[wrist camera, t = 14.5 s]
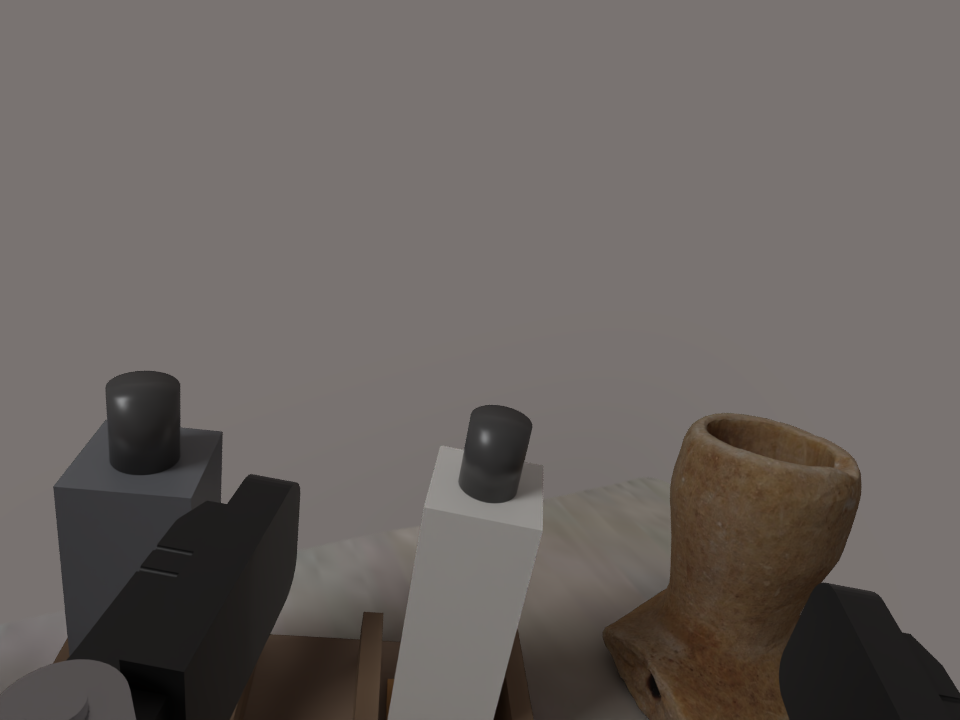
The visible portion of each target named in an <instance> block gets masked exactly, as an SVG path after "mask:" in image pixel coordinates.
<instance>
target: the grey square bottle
mask: <svg viewBox="0 0 960 720" xmlns="http://www.w3.org/2000/svg"><path fill="white" fill-rule="evenodd" d="M106 404H107V405H106V406H107V420H105V421H104V423H103V424H102V425H101V427H100V428H99V429H98V430H97V432H96V433H95V434H94V435H93V437H92V438H91V439H90V441H89V442H88V443H87V445H86V446H85V447H84V448H83V450H82V451H81V452H80V453H79V455H78V456H77V457H76V458H75V460H74V461H73V462H72V464H71V465H70V466H69V467H68V469H67V470H66V471H65V473H64V474H63V475H62V476H61V478H60V479H59V480H58V481H57V483H56V484H55V485H54V487H53V488H54V498H55V509H56V518H57V530H58V540H59V551H60V561H61V572H62V583H63V593H64V603H65V614H66V625H67V635H68V646H69V656H70V655H71V654H72V653H73V652H74V651H75V649H76V648H77V647H78V646H79V644H80V643H81V642H82V640H83V639H84V638H85V637H86V635H87V634H88V633H89V631H90V630H91V629H92V628H93V626H94V625H95V624H96V622H97V621H98V620H99V619H100V617H101V616H102V615H103V613H104V612H105V611H106V610H107V608H108V607H109V606H110V604H111V603H112V602H113V601H114V599H115V598H116V597H117V595H118V594H119V593H120V592H121V590H122V589H123V588H124V586H125V585H126V584H127V583H128V581H129V580H130V579H131V577H132V576H133V575H134V574H135V572H136V571H138V572H139V570H140V567H141V565H142V563H143V562H144V561H145V560H146V558H147V557H148V556H149V554H150V553H151V552H152V551H153V550H156V548H157V544H158V543H159V542H160V540H161V539H162V538H163V536H164V535H165V534H166V533H167V531H168V530H169V529H170V527H171V526H172V525H173V524H174V522H175V521H176V520H177V519H178V518H180V517H181V516H183V515H185V514H186V513H188V512H189V511H191V510H193V509H194V508H196V507H197V506H199V505H201V504H202V503H204V502H205V501H212V502H217V503H221V475H222V435H223V434H222V433H223V432H220V431H210V430H200V429H190V428H180V383H179V381H178V380H177V379H176V378H175V377H173V376H171V375H168V374H166V373H161V372H156V371H135V372H129V373H125V374H122V375H119V376H116V377H114V378H113V379H111V380H110V381H109V382H108V383H107V385H106Z"/></svg>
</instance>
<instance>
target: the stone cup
mask: <svg viewBox="0 0 960 720" xmlns="http://www.w3.org/2000/svg"><path fill="white" fill-rule="evenodd" d="M860 496H861V473H860V470H859V468H858V465H857V463H856V461H855V459H854V458H853V457H852V456H851V455H850V454H849V453H848V452H846V451H845V450H844V449H842V448H841V447H839V446H837V445H836V444H834V443H832V442H830V441H828V440H826V439H824V438H822V437H818V436H815V435H813V434H811V433H808V432H806V431H804V430H802V429H799V428H797V427H794V426H791V425H788V424H785V423H781V422H776V421H773V420H770V419H767V418H761V417H755V416H749V415H744V414H733V413H721V414H713V415H709V416H705V417H703V418H701V419H699V420H698V421H696V422H695V423H693V424H692V426H691V427H690V428H689V429H688V431H687V433H686V436H685V437H684V439H683V443H682V447H681V450H680V453H679V455H678V458H677V461H676V464H675V467H674V471H673V475H672V479H671V487H670V506H671V534H672V539H671V570H670V582H669V585H668V587H667V589H665V590H663V591H661V592H660V593H658V594H657V595H655V596H654V597H653V598H651V599H650V600H648V601H647V602H645V603H643V604H642V605H640V606H639V607H637V608H636V609H635V610H633V611H632V612H630V613H629V614H627V615H625V616H624V617H622V618H621V619H619V620H618V621H616V622H615V623H613V624H611V625H609V626H607V627H605V629H604V631H603V640H604V642H605V645H606V647H607V648H608V650H609V651H610V653H611V655H612V657H613V659H614V662H615V664H616V667H617V670H618V672H619V675H620V677H622V678H623V679H624V682H625V684H626V686H627V688H628V690H629V692H630V693H631V695H632V696H633V698H634V699H635V701H636V704H637V705H638V707H639V709H640V710H641V711H642V712H643V713H644V714H645V715H646V716H647V717H648V718H649V719H650V720H789V717H788V714H787V711H786V708H785V705H784V703H783V700H782V696H781V692H780V686H779V667H780V661H781V657H782V654H783V651H784V649H785V647H786V645H787V643H788V641H789V639H790V636H791V634H792V632H793V630H794V628H795V626H796V624H797V622H798V620H799V618H800V615H799V614H800V613H801V611H802V609H803V608H804V606H805V604H806V603H807V601H808V599H809V596H810V594H811V592H812V591H813V589H814V588H815V587H816V586H817V585H818V584H820V583H821V582H822V581H823V580H824V579H825V577H826V576H827V575H828V574H829V573H830V571H831V570H832V569H833V568H834V566H835V565H836V564H837V562H838V561H839V559H840V557H841V555H842V553H843V550H844V548H845V545H846V542H847V539H848V536H849V534H850V531H851V528H852V525H853V522H854V518H855V515H856V512H857V509H858V505H859V501H860Z"/></svg>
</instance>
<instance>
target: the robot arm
mask: <svg viewBox="0 0 960 720" xmlns="http://www.w3.org/2000/svg"><path fill="white" fill-rule="evenodd" d="M299 505H300V486H299V484H298V483H296V482H291V481H285V480H280V479H275V478H269V477H264V476H259V475H253V474H250V475H248V476H247V477H246V478H245V479H244V481H243V482H242V484H241V485H240V487H239V488H238V489H237V491H236V492H235V494H234V495H233V497H232V498H231V499H230V501H229V502H228V504H223V503H217V502H212V501H205V502H204V503H202V504H201V505H199V506H197V507H196V508H194V509H193V510H191V511H189V512H188V513H186V514H185V515H183V516H181V517H180V518H178V519H177V520H176V521H175V522H174V524H173V525H172V526H171V527H170V529H169V530H168V531H167V533H166V534H165V535H164V536H163V538H162V539H161V540H160V542H159V543H158V544H157V548H156V550H153V551H152V552H151V553H150V554H149V556H148V557H147V558H146V560H145V561H144V562H143V563H142V565H141V567H140V570H139V572H138V571H136V572H135V574H134V575H133V576H132V577H131V579H130V580H129V581H128V583H127V584H126V585H125V586H124V588H123V589H122V590H121V592H120V593H119V594H118V595H117V597H116V598H115V599H114V601H113V602H112V603H111V604H110V606H109V607H108V608H107V610H106V611H105V612H104V613H103V615H102V616H101V617H100V619H99V620H98V621H97V622H96V624H95V625H94V626H93V628H92V629H91V630H90V631H89V633H88V634H87V635H86V637H85V638H84V639H83V640H82V642H81V643H80V644H79V646H78V647H77V648H76V649H75V651H74V652H73V653H72V654H71V655H70V657H69V658H68V659H67V660H66V661H62V662H58V663H54V664H51V665H48V666H45V667H42V668H40V669H37V670H35V671H33V672H31V673H29V674H27V675H26V676H24V677H22V678H21V679H19V680H17V681H16V682H15V683H13V684H12V685H11V686H9V687H8V688H7V689H6V690H5V691H4V692H2V693H1V694H0V720H230V718H231V716H232V714H233V712H234V710H235V707H236V705H237V703H238V701H239V699H240V697H241V695H242V693H243V690H244V688H245V686H246V684H247V682H248V680H249V678H250V676H251V674H252V671H253V669H254V667H255V665H256V663H257V661H258V659H259V657H260V654H261V652H262V650H263V648H264V646H265V644H266V642H267V640H268V638H269V635H270V633H271V631H272V629H273V627H274V625H275V623H276V621H277V618H278V616H279V614H280V612H281V610H282V608H283V606H284V604H285V601H286V599H287V596H288V594H289V591H290V588H291V584H292V581H293V577H294V572H295V567H296V558H297V541H298V523H299ZM779 686H780V692H781V696H782V700H783V703H784V705H785V708H786V711H787V714H788V717H789V720H960V693H959V692H958V690H957V688H956V687H955V685H954V683H953V682H952V680H951V679H950V677H949V675H948V674H947V672H946V671H945V669H944V667H943V666H942V665H941V664H940V663H939V662H938V661H937V660H936V659H935V658H934V657H933V656H932V655H931V654H930V653H929V652H928V651H927V650H926V649H925V648H924V647H923V646H922V645H921V644H920V643H919V642H918V641H916V639H915V638H914V637H912V635H911V634H906V633H902V632H901V630H900V628H899V627H898V625H897V623H896V622H895V620H894V618H893V617H892V615H891V613H890V611H889V610H888V608H887V607H886V605H885V603H884V601H883V600H882V599H881V597H880V596H879V595H878V594H876V593H875V592H871V591H866V590H861V589H855V588H850V587H845V586H840V585H834V584H829V583H820V584H818V585H817V586H816V587H815V588H814V589H813V591H812V592H811V594H810V596H809V599H808V601H807V603H806V605H805V607H804V609H803V611H802V613H801V615H800V618H799V620H798V622H797V624H796V626H795V628H794V630H793V632H792V634H791V636H790V639H789V641H788V643H787V645H786V647H785V649H784V651H783V654H782V657H781V661H780V667H779Z"/></svg>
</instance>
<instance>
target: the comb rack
mask: <svg viewBox="0 0 960 720" xmlns="http://www.w3.org/2000/svg"><path fill="white" fill-rule="evenodd" d="M382 630H383V613H373V612H364V613H363V621H362V628H361V635H360V640H358V639H341V638H323V637H306V636H289V635H272V634H270V635H269V638H268V640H267V642H266V644H265V646H264V648H263V650H262V652H261V654H260V657H259V659H258V661H257V663H256V665H255V667H254V669H253V671H252V674H251V676H250V678H249V680H248V682H247V684H246V686H245V688H244V690H243V693H242V695H241V697H240V699H239V701H238V703H237V705H236V707H235V710H234V712H233V714H232V716H231V718H230V720H388V714H389V708H390V702H391V696H392V691H393V685H394V679H395V673H396V667H397V661H398V656H399V650H400V644H401V642H392V641H382ZM69 657H70V656H69V646H68V638H67V640H66V642H65V643H64V645H63V647H62V649H61V650H60V652H59V654H58V656H57V657H56V659H55V661H54V663H58V662H62V661H66V660H67V659H68V658H69ZM54 663H53V664H54ZM493 720H534V719H533V714H532V708H531V702H530V696H529V691H528V685H527V679H526V674H525V668H524V662H523V656H522V651H521V645H520V639H519V633H518V628H517V631H516V635H515V638H514V642H513V646H512V650H511V654H510V658H509V661H508V665H507V669H506V673H505V677H504V681H503V684H502V688H501V692H500V696H499V700H498V704H497V707H496V711H495V715H494V719H493Z"/></svg>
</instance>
